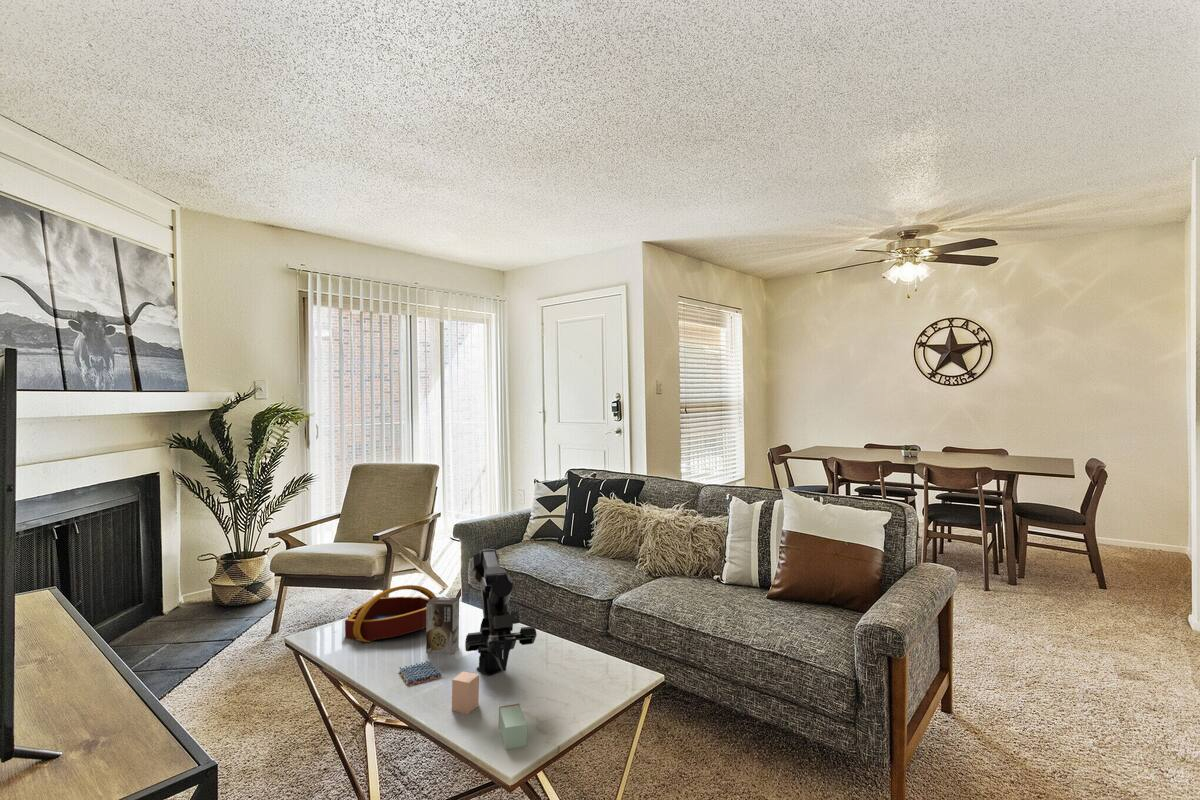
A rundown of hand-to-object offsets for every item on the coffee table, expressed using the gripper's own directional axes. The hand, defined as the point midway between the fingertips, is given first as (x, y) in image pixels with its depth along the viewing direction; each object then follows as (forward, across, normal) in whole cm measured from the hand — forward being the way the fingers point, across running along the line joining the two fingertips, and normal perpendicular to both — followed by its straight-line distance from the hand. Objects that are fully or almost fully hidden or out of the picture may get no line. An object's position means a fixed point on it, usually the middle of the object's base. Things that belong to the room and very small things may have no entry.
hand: (504, 670), depth 152 cm
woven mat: (-10, -20, +26) cm, 35 cm away
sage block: (+11, 0, -1) cm, 11 cm away
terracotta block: (+5, -10, +9) cm, 14 cm away
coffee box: (-22, -13, +38) cm, 46 cm away
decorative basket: (-38, -28, +55) cm, 73 cm away
